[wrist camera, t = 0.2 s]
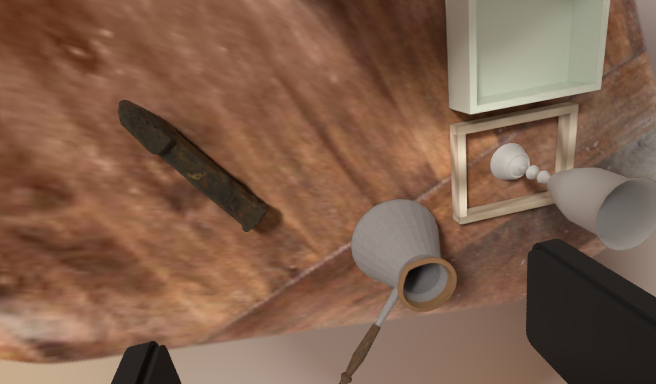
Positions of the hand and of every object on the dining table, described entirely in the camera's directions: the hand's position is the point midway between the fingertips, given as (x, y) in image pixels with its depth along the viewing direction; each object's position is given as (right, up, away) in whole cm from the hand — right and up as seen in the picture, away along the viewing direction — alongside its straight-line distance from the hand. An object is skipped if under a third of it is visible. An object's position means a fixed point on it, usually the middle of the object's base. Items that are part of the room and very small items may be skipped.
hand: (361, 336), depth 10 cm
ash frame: (+23, +8, +41) cm, 48 cm away
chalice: (+23, +8, +41) cm, 48 cm away
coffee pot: (+4, -5, +43) cm, 43 cm away
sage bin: (+21, +21, +36) cm, 47 cm away
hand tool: (-16, +7, +35) cm, 39 cm away
